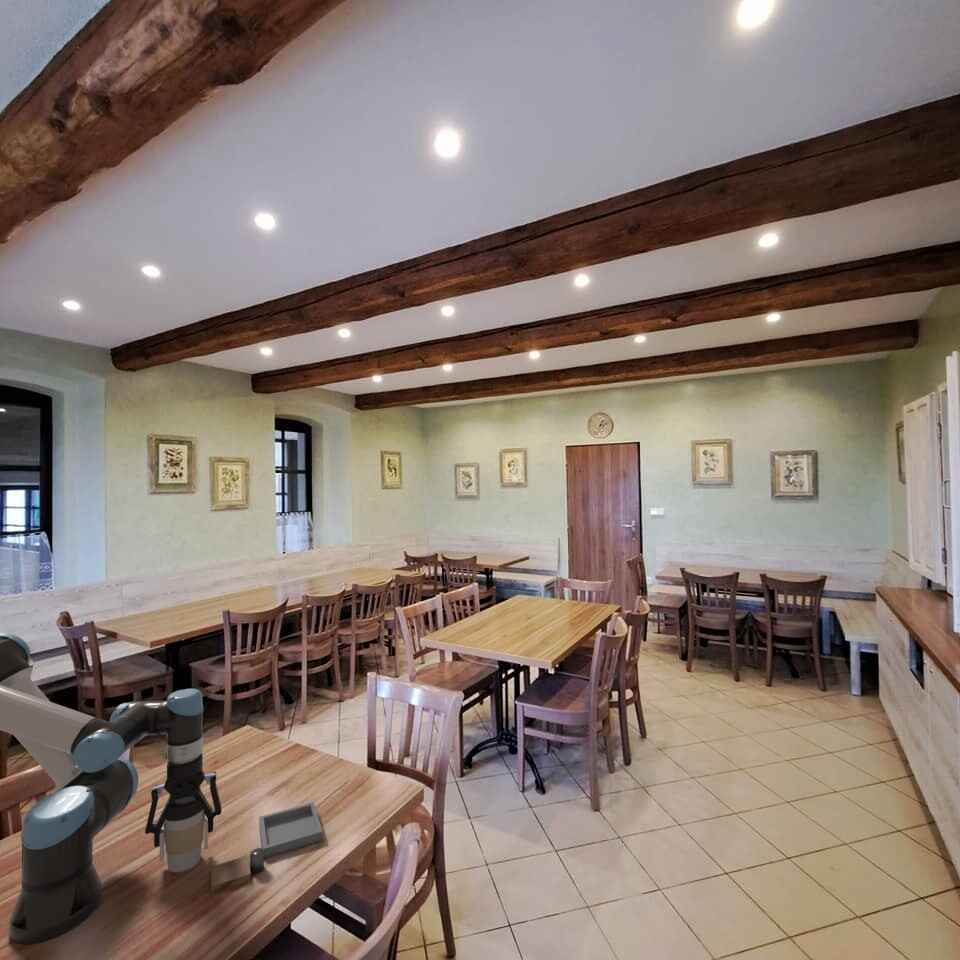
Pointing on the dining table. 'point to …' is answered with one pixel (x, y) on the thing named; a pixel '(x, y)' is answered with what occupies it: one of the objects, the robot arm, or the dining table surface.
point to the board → (230, 874)
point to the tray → (290, 830)
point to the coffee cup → (184, 833)
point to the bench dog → (257, 861)
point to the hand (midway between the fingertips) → (184, 851)
